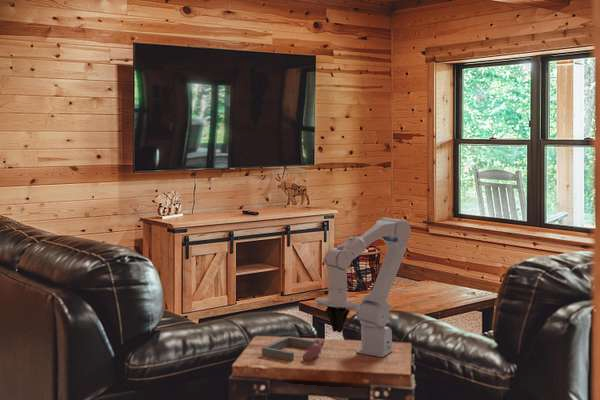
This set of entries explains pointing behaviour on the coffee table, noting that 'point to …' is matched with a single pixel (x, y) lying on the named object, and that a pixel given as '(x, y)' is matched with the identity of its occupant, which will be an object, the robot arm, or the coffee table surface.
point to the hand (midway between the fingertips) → (337, 331)
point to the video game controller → (313, 349)
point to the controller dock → (275, 347)
